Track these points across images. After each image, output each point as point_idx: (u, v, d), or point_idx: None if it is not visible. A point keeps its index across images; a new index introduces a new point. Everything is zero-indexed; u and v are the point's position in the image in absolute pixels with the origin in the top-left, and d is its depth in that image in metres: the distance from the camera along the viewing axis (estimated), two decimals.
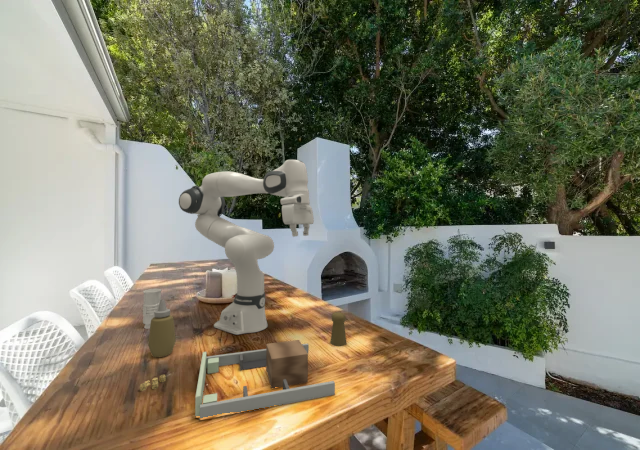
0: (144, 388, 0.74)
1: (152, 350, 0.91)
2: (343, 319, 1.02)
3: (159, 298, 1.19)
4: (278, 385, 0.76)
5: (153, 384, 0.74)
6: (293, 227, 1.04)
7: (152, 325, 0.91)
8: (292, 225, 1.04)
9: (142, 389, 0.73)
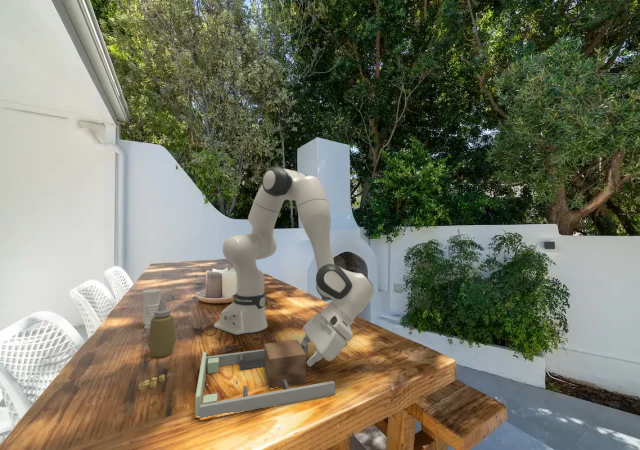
0: (142, 387, 0.74)
1: (152, 350, 0.91)
2: None
3: (159, 298, 1.19)
4: (276, 385, 0.75)
5: (151, 384, 0.74)
6: (318, 358, 0.78)
7: (152, 325, 0.91)
8: (320, 355, 0.78)
9: (140, 388, 0.74)
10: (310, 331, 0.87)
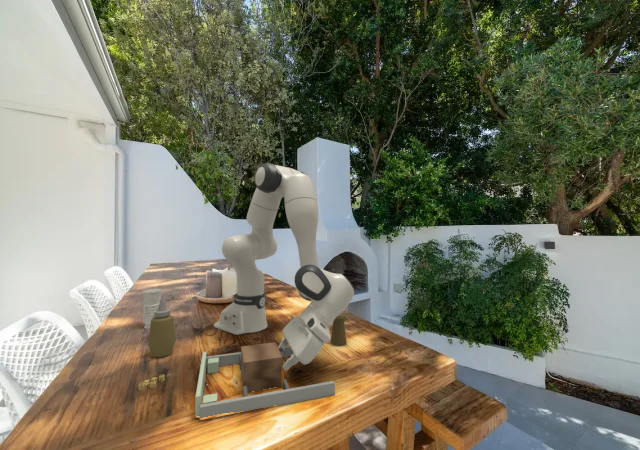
0: (142, 387, 0.74)
1: (152, 350, 0.91)
2: (343, 319, 1.02)
3: (159, 298, 1.19)
4: (250, 389, 0.73)
5: (151, 384, 0.75)
6: (295, 361, 0.76)
7: (152, 325, 0.91)
8: (296, 358, 0.76)
9: (140, 388, 0.74)
10: (289, 333, 0.85)
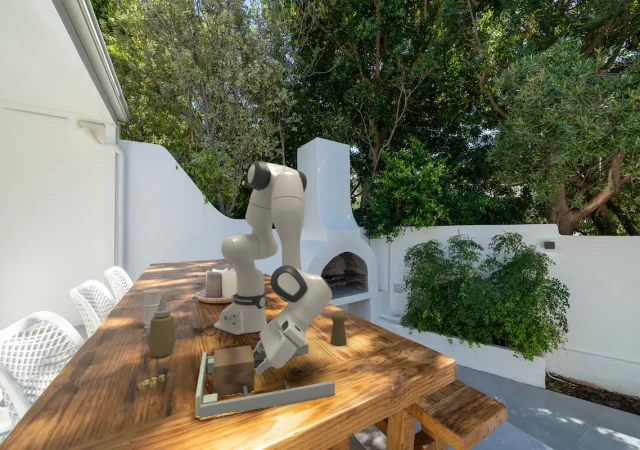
0: (142, 387, 0.74)
1: (152, 350, 0.91)
2: (343, 319, 1.02)
3: (159, 298, 1.19)
4: (221, 394, 0.71)
5: (151, 384, 0.75)
6: (268, 365, 0.73)
7: (152, 325, 0.91)
8: (269, 362, 0.73)
9: (140, 388, 0.74)
10: (265, 336, 0.83)
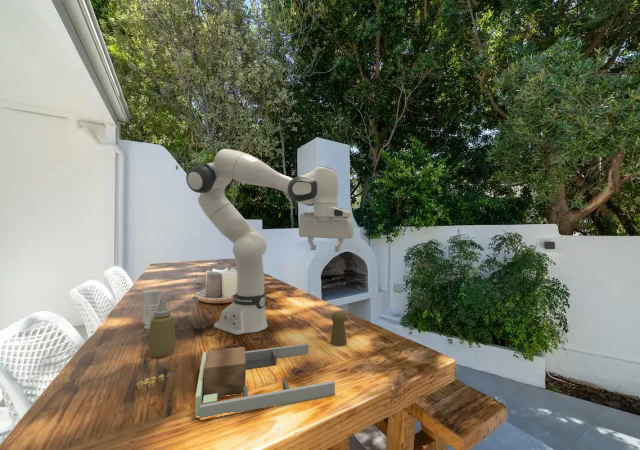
0: (140, 386, 0.74)
1: (152, 350, 0.91)
2: (343, 319, 1.02)
3: (159, 298, 1.19)
4: None
5: (149, 383, 0.75)
6: (342, 241, 1.00)
7: (152, 325, 0.91)
8: (342, 239, 1.00)
9: (138, 387, 0.74)
10: (314, 232, 1.02)
